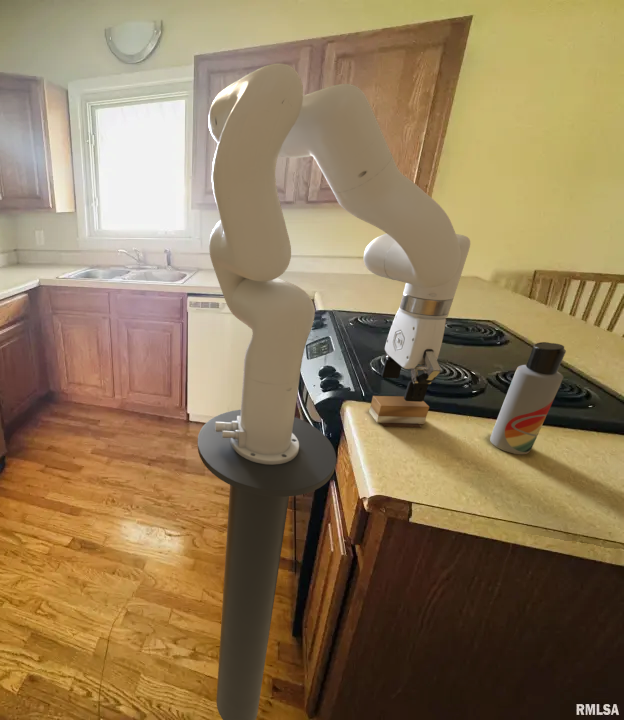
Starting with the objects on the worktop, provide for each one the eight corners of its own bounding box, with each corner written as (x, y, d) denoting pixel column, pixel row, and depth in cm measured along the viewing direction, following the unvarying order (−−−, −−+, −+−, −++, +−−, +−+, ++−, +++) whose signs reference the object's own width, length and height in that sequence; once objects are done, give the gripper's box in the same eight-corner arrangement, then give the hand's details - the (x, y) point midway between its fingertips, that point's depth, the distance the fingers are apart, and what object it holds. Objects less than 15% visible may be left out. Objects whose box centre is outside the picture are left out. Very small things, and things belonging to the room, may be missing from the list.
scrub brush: (376, 422, 80) (380, 405, 78) (368, 412, 84) (372, 395, 82) (424, 423, 79) (429, 406, 77) (414, 413, 82) (419, 396, 81)
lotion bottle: (533, 458, 68) (581, 353, 60) (491, 449, 71) (532, 347, 63) (526, 441, 73) (570, 341, 64) (486, 433, 76) (524, 336, 67)
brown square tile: (383, 426, 79) (384, 425, 79) (371, 410, 84) (371, 409, 84) (421, 427, 78) (421, 426, 78) (406, 411, 83) (407, 410, 83)
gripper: (382, 292, 79) (363, 369, 86) (428, 319, 64) (401, 410, 71) (422, 293, 78) (400, 370, 85) (478, 320, 63) (446, 412, 70)
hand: (400, 388), depth 78 cm, fingers open, 9 cm apart
